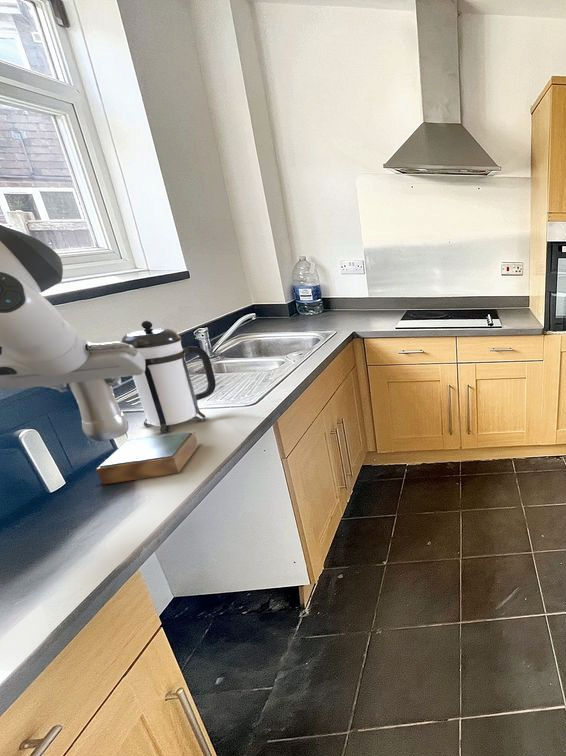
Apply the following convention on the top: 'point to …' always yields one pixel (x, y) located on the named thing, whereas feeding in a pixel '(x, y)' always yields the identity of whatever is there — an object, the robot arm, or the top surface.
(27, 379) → the robot arm
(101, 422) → the plastic bottle
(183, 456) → the riser
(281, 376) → the top surface
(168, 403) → the coffee press
